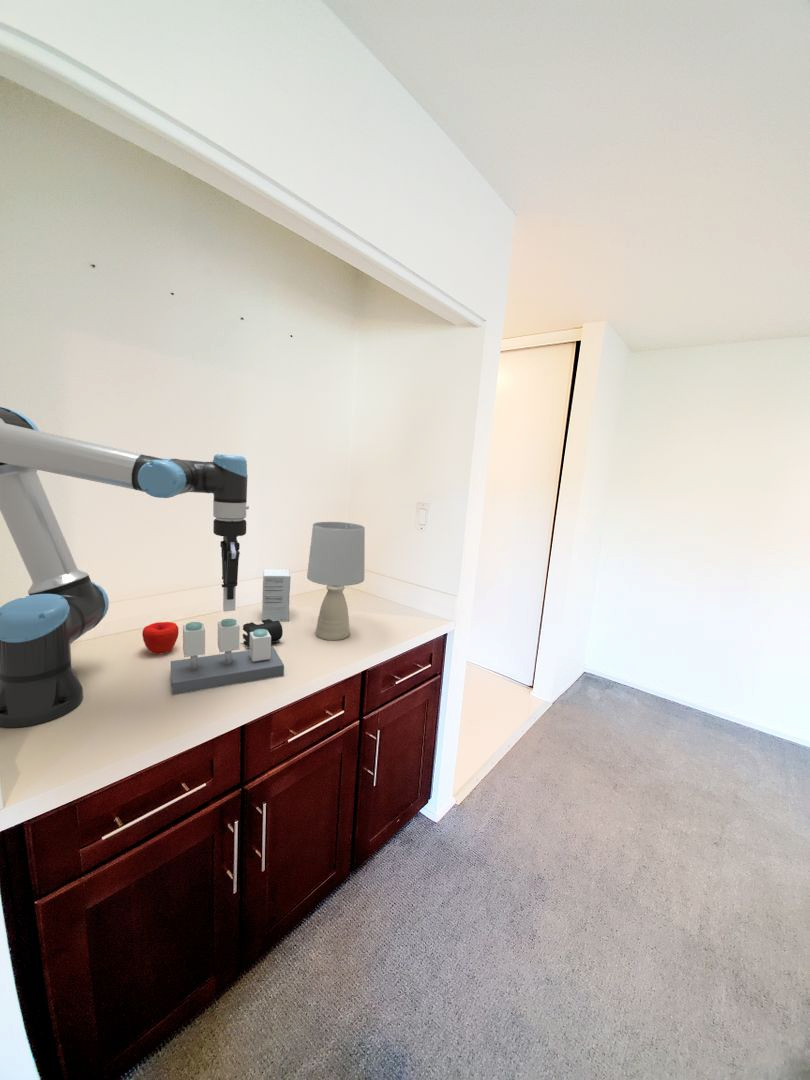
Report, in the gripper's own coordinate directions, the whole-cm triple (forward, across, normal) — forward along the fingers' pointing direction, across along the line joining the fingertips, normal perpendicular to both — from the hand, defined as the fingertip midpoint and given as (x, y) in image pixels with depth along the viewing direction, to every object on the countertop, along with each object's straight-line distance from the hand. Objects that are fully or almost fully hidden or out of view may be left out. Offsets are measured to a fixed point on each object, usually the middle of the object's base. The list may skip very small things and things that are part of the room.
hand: (229, 610), depth 108 cm
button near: (+10, 0, +8) cm, 13 cm away
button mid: (+10, 0, 0) cm, 10 cm away
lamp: (+18, +16, -35) cm, 42 cm away
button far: (+14, 0, -8) cm, 16 cm away
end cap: (+18, +16, -12) cm, 27 cm away
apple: (+18, +20, +15) cm, 31 cm away
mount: (+18, 0, 0) cm, 18 cm away
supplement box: (+18, +37, -21) cm, 46 cm away
